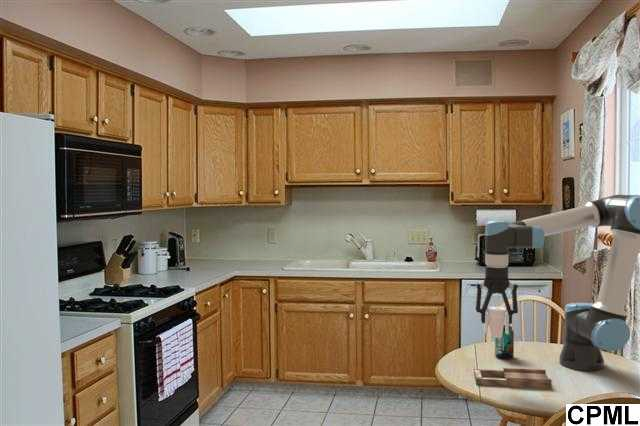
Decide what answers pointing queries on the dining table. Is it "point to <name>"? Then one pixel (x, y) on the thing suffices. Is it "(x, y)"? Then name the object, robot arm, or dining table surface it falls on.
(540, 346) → the dining table surface
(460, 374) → the dining table surface
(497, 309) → the smoothie
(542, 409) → the dining table surface
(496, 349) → the beverage can
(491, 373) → the rail board
